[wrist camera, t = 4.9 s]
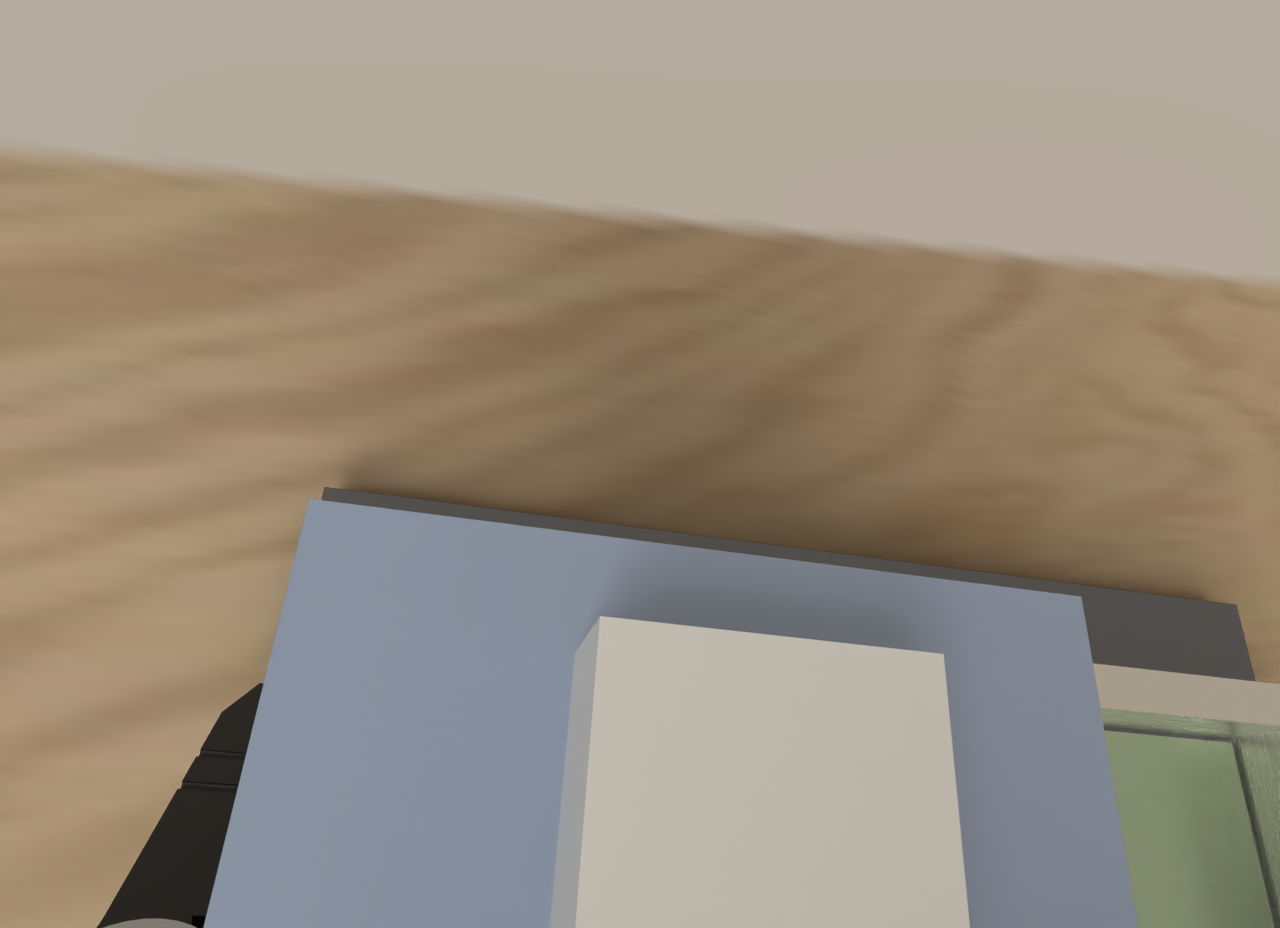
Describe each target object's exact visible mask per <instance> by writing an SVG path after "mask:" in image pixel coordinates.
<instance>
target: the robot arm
mask: <svg viewBox="0 0 1280 928" xmlns="http://www.w3.org/2000/svg"><path fill="white" fill-rule="evenodd" d="M262 688H263V684H262V683H260V684H258V685H257V686H256V687H254V688H253V689H252V690H250V691H249V692H248V693H247V694H245V695H244V696H243V697H241V698H240V699H239V700H237V701H236V702H235V703H233V704H232V705H231V706H229V707H228V708H227V709H225V710H224V711H223V712H222V713H221V715H220V716H219V718H218V720H217V722H216V723H215V725H214V727H213V729H212V730H211V732H210V734H209V735H208V737H207V739H206V741H205V742H204V744H203V746H202V748H201V751H200V755H199V757H197V756H196V758H195V760H194V762H193V763H192V765H191V767H190V768H189V770H188V772H187V774H186V775H185V777H184V779H183V781H182V786H181V789H177V791H176V793H175V794H174V796H173V798H172V800H171V801H170V803H169V805H168V807H167V808H166V810H165V812H164V814H163V815H162V817H161V819H160V821H159V822H158V824H157V826H156V827H155V829H154V831H153V833H152V834H151V836H150V838H149V840H148V841H147V843H146V845H145V847H144V848H143V850H142V852H141V854H140V855H139V857H138V859H137V860H136V862H135V864H134V866H133V867H132V869H131V871H130V873H129V874H128V876H127V878H126V880H125V881H124V883H123V885H122V886H121V888H120V890H119V892H118V893H117V895H116V897H115V899H114V900H113V902H112V904H111V906H110V907H109V909H108V911H107V913H106V914H105V916H104V918H103V919H102V921H101V922H100V924H99V925H98V927H97V928H203V927H204V923H205V919H206V915H207V911H208V907H209V903H210V899H211V895H212V891H213V887H214V883H215V879H216V875H217V871H218V867H219V863H220V858H221V854H222V850H223V846H224V842H225V838H226V834H227V830H228V826H229V822H230V818H231V814H232V810H233V806H234V802H235V798H236V794H237V789H238V785H239V781H240V777H241V773H242V769H243V765H244V761H245V757H246V753H247V749H248V745H249V741H250V737H251V733H252V729H253V724H254V720H255V716H256V712H257V708H258V704H259V700H260V696H261V692H262Z"/></svg>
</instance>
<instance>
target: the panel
mask: <svg viewBox="0 0 1280 928" xmlns="http://www.w3.org/2000/svg"><path fill="white" fill-rule="evenodd" d="M322 500H323V501H331V502H339V503H347V504H355V505H363V506H371V507H379V508H387V509H394V510H402V511H410V512H418V513H426V514H434V515H442V516H450V517H458V518H465V519H473V520H481V521H489V522H497V523H505V524H513V525H521V526H529V527H536V528H544V529H552V530H560V531H568V532H576V533H584V534H592V535H600V536H607V537H615V538H623V539H631V540H639V541H647V542H655V543H663V544H671V545H678V546H686V547H694V548H702V549H710V550H718V551H726V552H734V553H742V554H749V555H757V556H765V557H773V558H781V559H789V560H797V561H805V562H813V563H820V564H828V565H836V566H844V567H852V568H860V569H868V570H876V571H884V572H891V573H899V574H907V575H915V576H923V577H931V578H939V579H947V580H954V581H962V582H970V583H978V584H986V585H994V586H1002V587H1010V588H1018V589H1025V590H1033V591H1041V592H1049V593H1057V594H1065V595H1073V596H1081V597H1082V603H1083V609H1084V615H1085V620H1086V626H1087V632H1088V638H1089V644H1090V650H1091V655H1092V661H1093V667H1094V673H1095V679H1096V685H1097V690H1098V696H1099V702H1100V708H1101V714H1102V719H1103V725H1104V731H1105V737H1106V743H1107V749H1108V754H1109V760H1110V766H1111V772H1112V778H1113V784H1114V789H1115V795H1116V801H1117V807H1118V813H1119V819H1120V824H1121V830H1122V836H1123V842H1124V848H1125V853H1126V859H1127V865H1128V871H1129V877H1130V883H1131V888H1132V894H1133V900H1134V906H1135V912H1136V918H1137V923H1138V928H1280V684H1273V683H1264V682H1256V681H1255V677H1254V673H1253V669H1252V665H1251V661H1250V657H1249V654H1248V650H1247V646H1246V642H1245V638H1244V634H1243V630H1242V626H1241V622H1240V618H1239V614H1238V610H1237V606H1236V605H1233V604H1226V603H1218V602H1210V601H1202V600H1195V599H1187V598H1179V597H1171V596H1164V595H1156V594H1148V593H1141V592H1133V591H1125V590H1117V589H1110V588H1102V587H1094V586H1086V585H1079V584H1071V583H1063V582H1056V581H1048V580H1040V579H1032V578H1025V577H1017V576H1009V575H1001V574H994V573H986V572H978V571H971V570H963V569H955V568H947V567H940V566H932V565H924V564H916V563H909V562H901V561H893V560H886V559H878V558H870V557H862V556H855V555H847V554H839V553H831V552H824V551H816V550H808V549H801V548H793V547H785V546H777V545H770V544H762V543H754V542H746V541H739V540H731V539H723V538H715V537H708V536H700V535H692V534H685V533H677V532H669V531H661V530H654V529H646V528H638V527H630V526H623V525H615V524H607V523H600V522H592V521H584V520H576V519H569V518H561V517H553V516H545V515H538V514H530V513H522V512H515V511H507V510H499V509H491V508H484V507H476V506H468V505H460V504H453V503H445V502H437V501H430V500H422V499H414V498H406V497H399V496H391V495H383V494H375V493H368V492H360V491H352V490H345V489H337V488H329V487H325V488H324V492H323V496H322Z"/></svg>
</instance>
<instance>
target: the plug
mask: <svg viewBox="0 0 1280 928" xmlns="http://www.w3.org/2000/svg"><path fill="white" fill-rule="evenodd" d="M203 928H1138V923H1137V918H1136V912H1135V906H1134V900H1133V894H1132V888H1131V883H1130V877H1129V871H1128V865H1127V859H1126V853H1125V848H1124V842H1123V836H1122V830H1121V824H1120V819H1119V813H1118V807H1117V801H1116V795H1115V789H1114V784H1113V778H1112V772H1111V766H1110V760H1109V754H1108V749H1107V743H1106V737H1105V731H1104V725H1103V719H1102V714H1101V708H1100V702H1099V696H1098V690H1097V685H1096V679H1095V673H1094V667H1093V661H1092V655H1091V650H1090V644H1089V638H1088V632H1087V626H1086V620H1085V615H1084V609H1083V603H1082V597H1081V596H1073V595H1065V594H1057V593H1049V592H1041V591H1033V590H1025V589H1018V588H1010V587H1002V586H994V585H986V584H978V583H970V582H962V581H954V580H947V579H939V578H931V577H923V576H915V575H907V574H899V573H891V572H884V571H876V570H868V569H860V568H852V567H844V566H836V565H828V564H820V563H813V562H805V561H797V560H789V559H781V558H773V557H765V556H757V555H749V554H742V553H734V552H726V551H718V550H710V549H702V548H694V547H686V546H678V545H671V544H663V543H655V542H647V541H639V540H631V539H623V538H615V537H607V536H600V535H592V534H584V533H576V532H568V531H560V530H552V529H544V528H536V527H529V526H521V525H513V524H505V523H497V522H489V521H481V520H473V519H465V518H458V517H450V516H442V515H434V514H426V513H418V512H410V511H402V510H394V509H387V508H379V507H371V506H363V505H355V504H347V503H339V502H331V501H323V500H316V499H309V501H308V505H307V509H306V513H305V517H304V522H303V526H302V530H301V534H300V538H299V542H298V546H297V550H296V554H295V558H294V562H293V566H292V570H291V574H290V578H289V582H288V586H287V591H286V595H285V599H284V603H283V607H282V611H281V615H280V619H279V623H278V627H277V631H276V635H275V639H274V643H273V647H272V651H271V655H270V660H269V664H268V668H267V672H266V676H265V680H264V684H263V688H262V692H261V696H260V700H259V704H258V708H257V712H256V716H255V720H254V724H253V729H252V733H251V737H250V741H249V745H248V749H247V753H246V757H245V761H244V765H243V769H242V773H241V777H240V781H239V785H238V789H237V794H236V798H235V802H234V806H233V810H232V814H231V818H230V822H229V826H228V830H227V834H226V838H225V842H224V846H223V850H222V854H221V858H220V863H219V867H218V871H217V875H216V879H215V883H214V887H213V891H212V895H211V899H210V903H209V907H208V911H207V915H206V919H205V923H204V927H203Z"/></svg>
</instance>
